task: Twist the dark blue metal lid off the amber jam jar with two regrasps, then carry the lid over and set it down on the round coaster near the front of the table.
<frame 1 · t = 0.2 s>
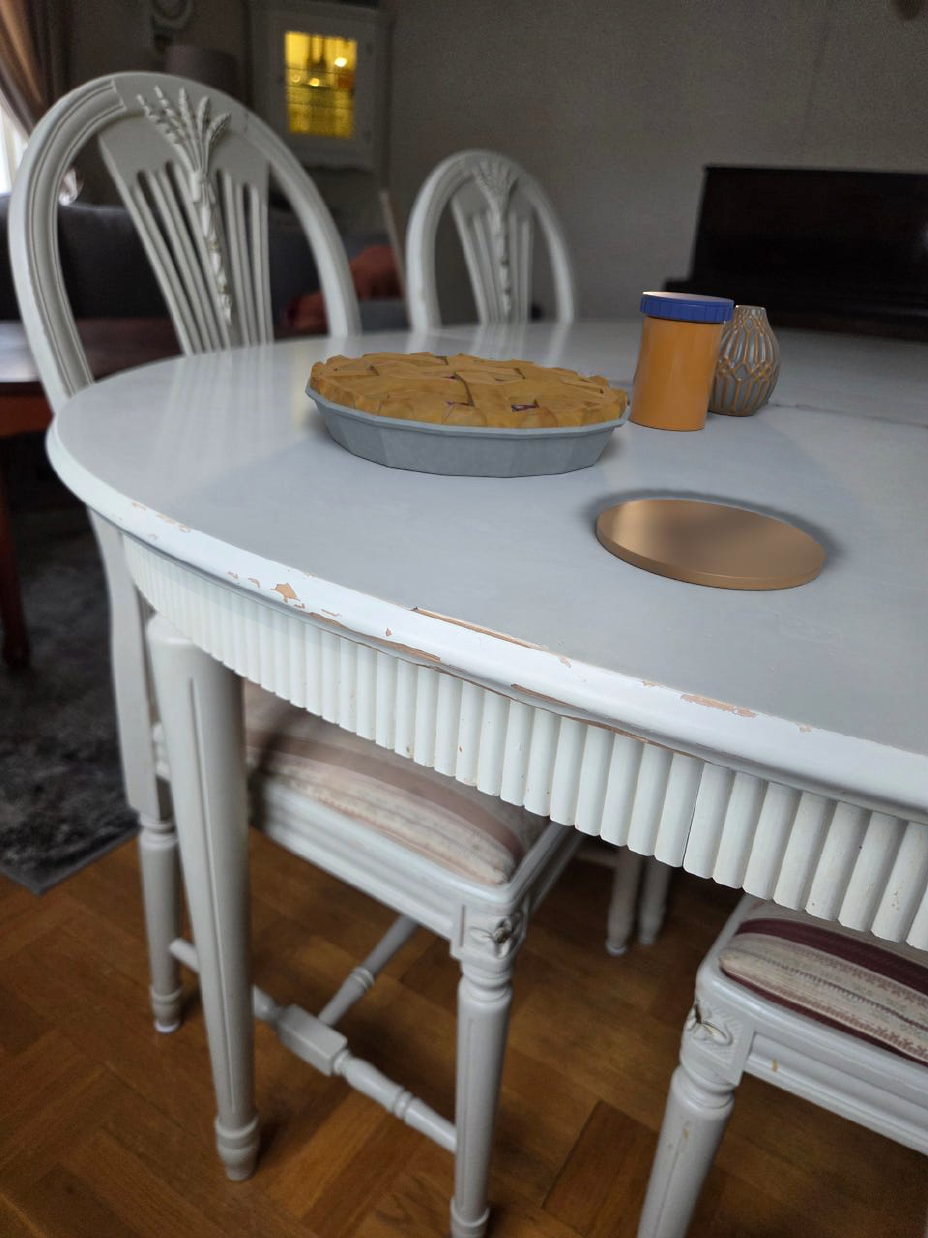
lid: (687, 300, 64), point 9 cm above the table, screwed on, not yet turned
vase: (728, 413, 74), on the table
coaster: (706, 545, 41), on the table
pie: (464, 441, 57), on the table
jar: (665, 421, 68), on the table
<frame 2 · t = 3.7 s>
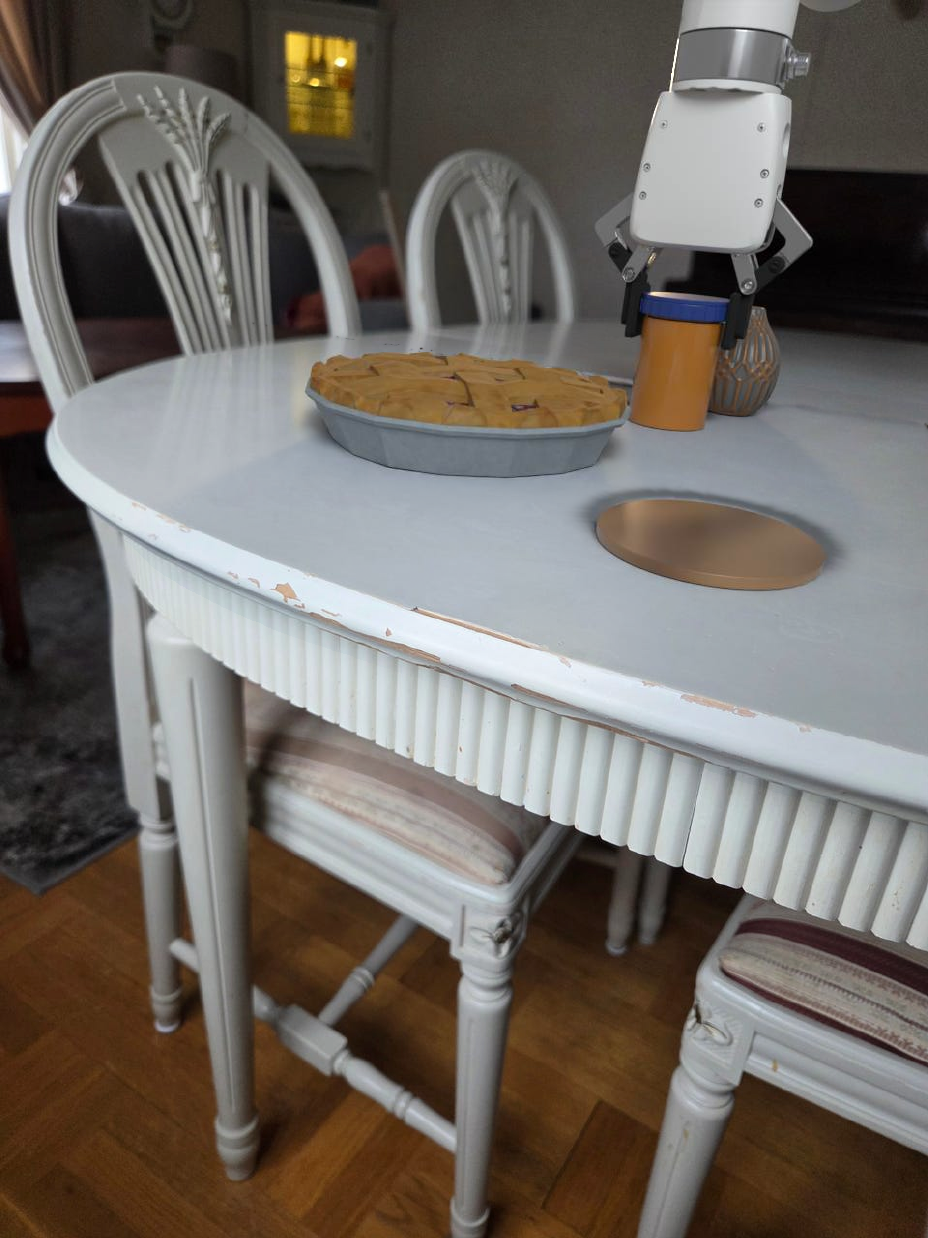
hand: (680, 340, 65), 6 cm above the table, tool pointing down, fingers closed on lid, 6 cm apart
lid: (687, 300, 64), point 9 cm above the table, screwed on, not yet turned, touching gripper
everything else where it was.
when the fingers open (6 cm above the table, at t = 6.2 s): lid stays where it is, point 10 cm above the table.
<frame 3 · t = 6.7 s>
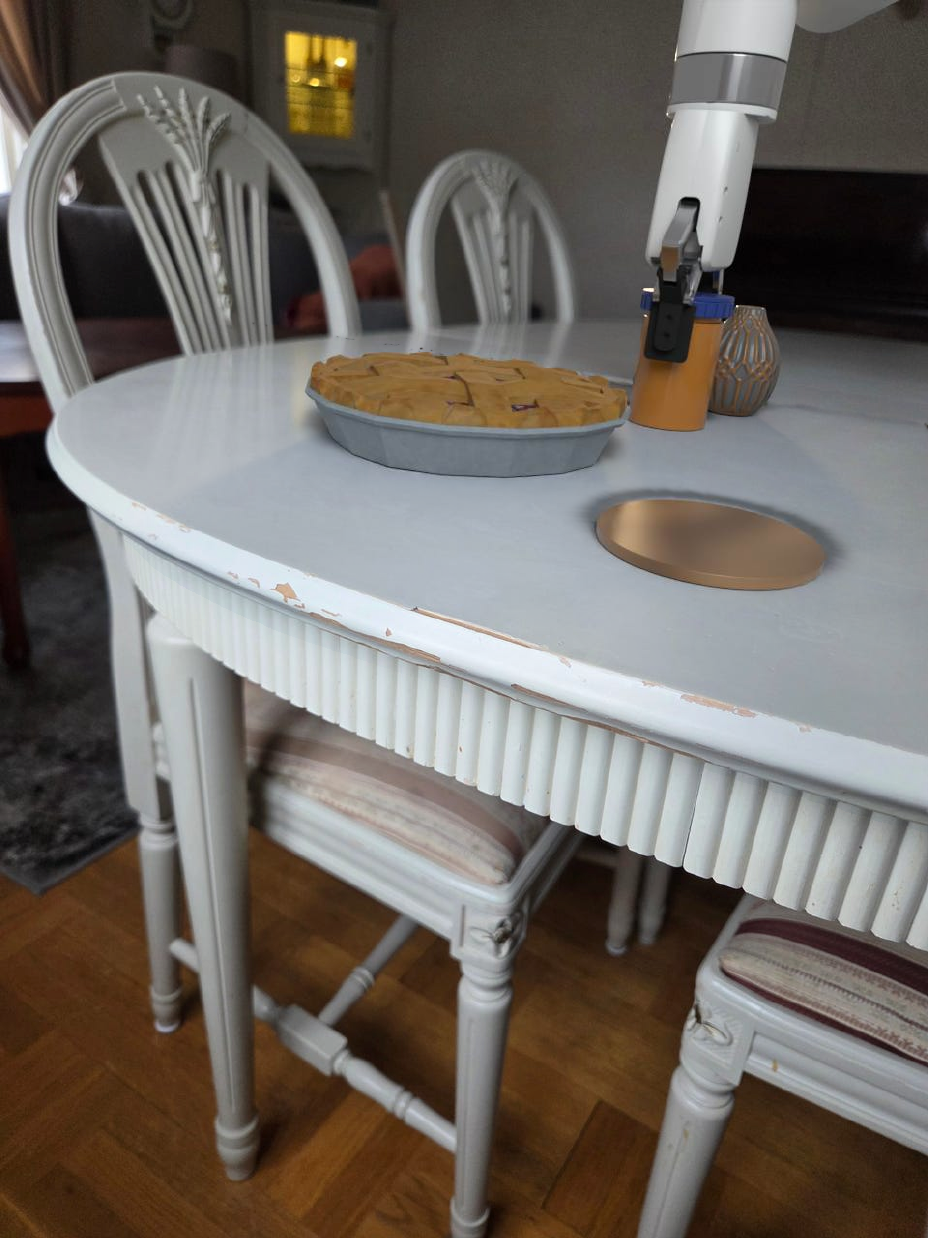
hand: (678, 353, 65), 5 cm above the table, tool pointing down, fingers open, 8 cm apart
lid: (687, 297, 63), point 10 cm above the table, turned 90° so far, risen 0.2 cm, still on its thread
everything else where it was.
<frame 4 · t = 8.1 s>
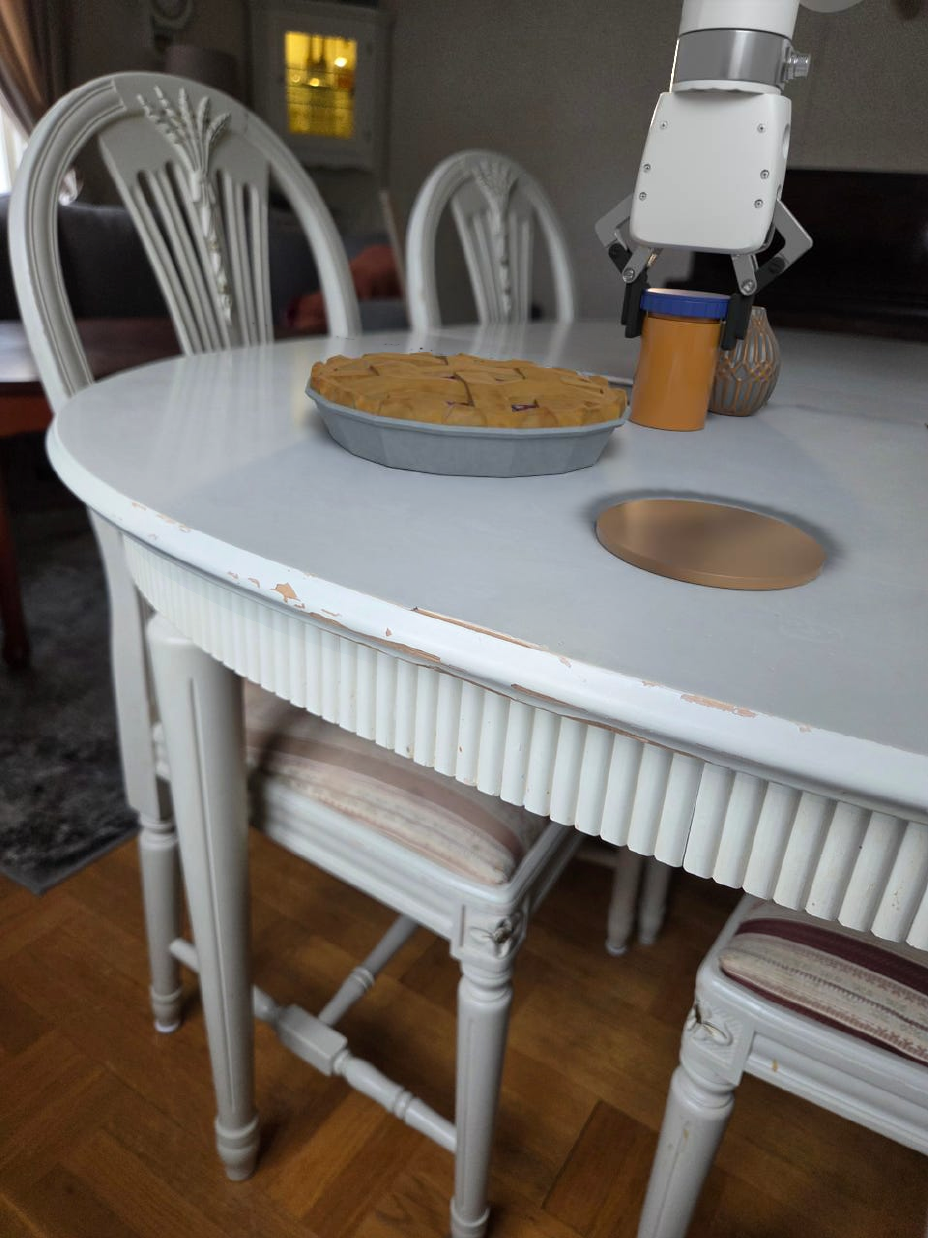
hand: (680, 340, 65), 6 cm above the table, tool pointing down, fingers closed on lid, 6 cm apart
lid: (687, 297, 63), point 10 cm above the table, turned 90° so far, risen 0.2 cm, still on its thread, touching gripper
everything else where it was.
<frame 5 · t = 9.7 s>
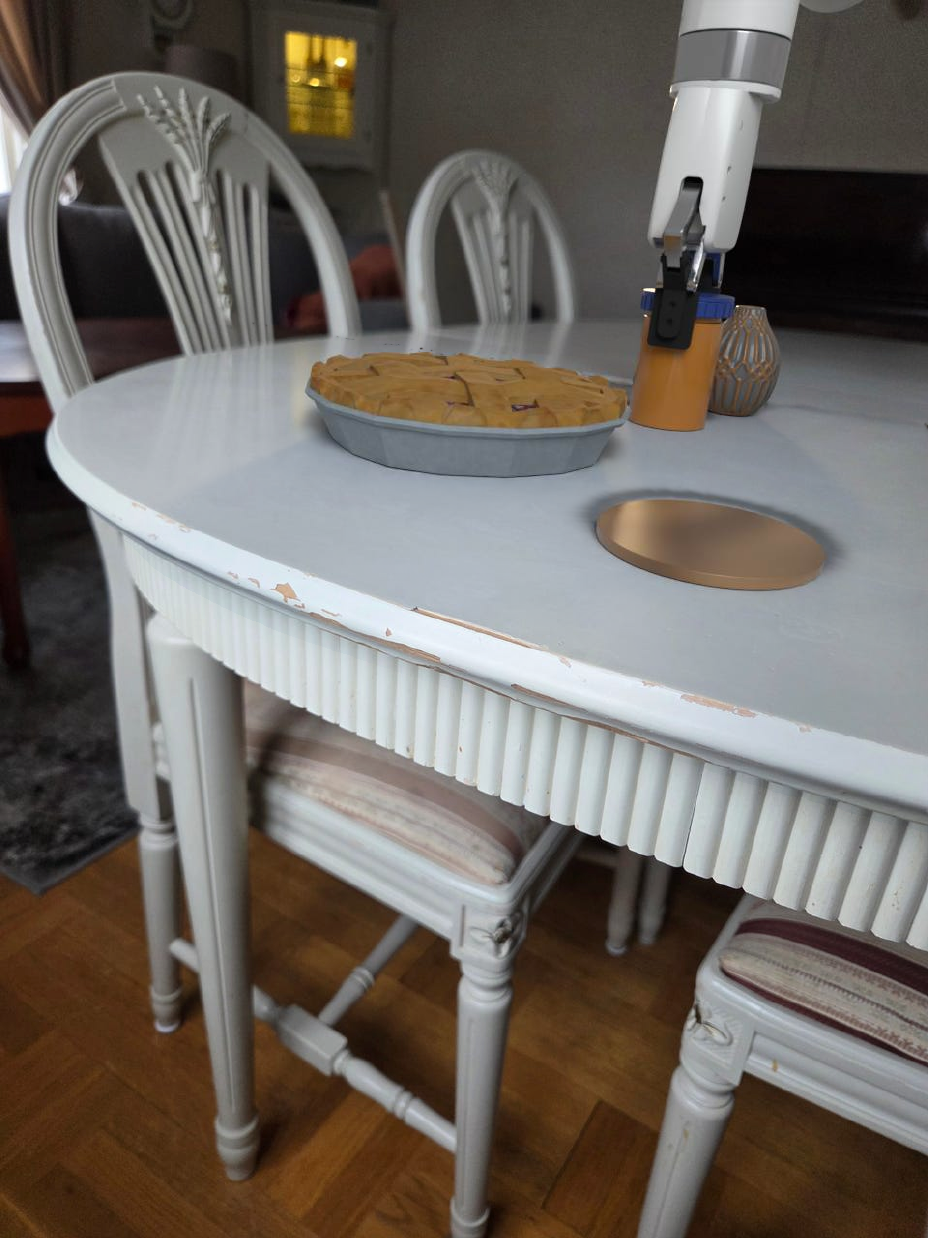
hand: (680, 340, 65), 6 cm above the table, tool pointing down, fingers closed on lid, 6 cm apart
lid: (688, 297, 63), point 10 cm above the table, off its thread, touching gripper
everything else where it was.
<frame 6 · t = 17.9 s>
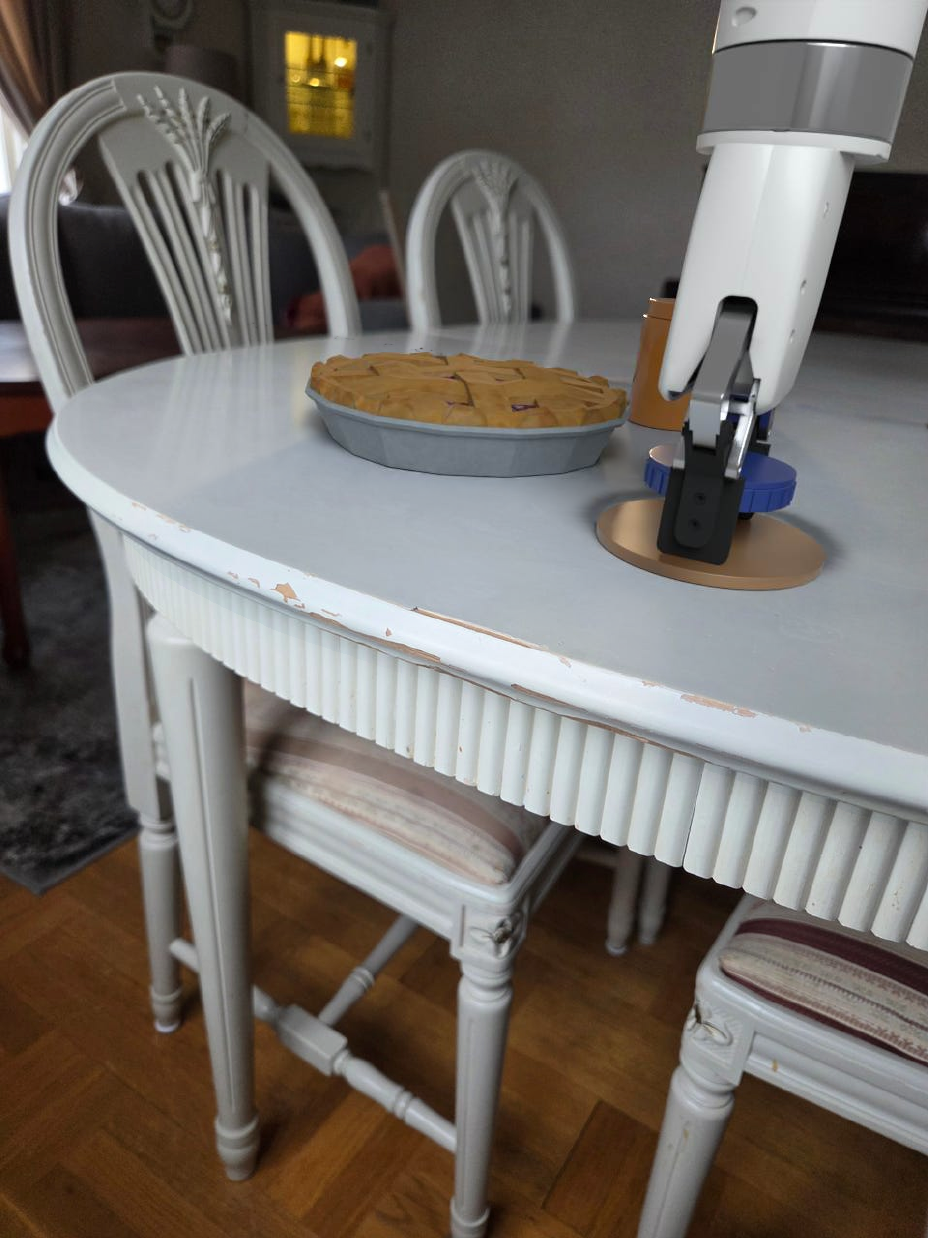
hand: (708, 531, 41), 1 cm above the table, tool pointing down, fingers closed on lid, 6 cm apart
lid: (720, 467, 40), point 4 cm above the table, off its thread, touching gripper
everything else where it was.
when the fingers open (2 cm above the table, at t = 28.5 s): lid drops 3 cm, resting on coaster.
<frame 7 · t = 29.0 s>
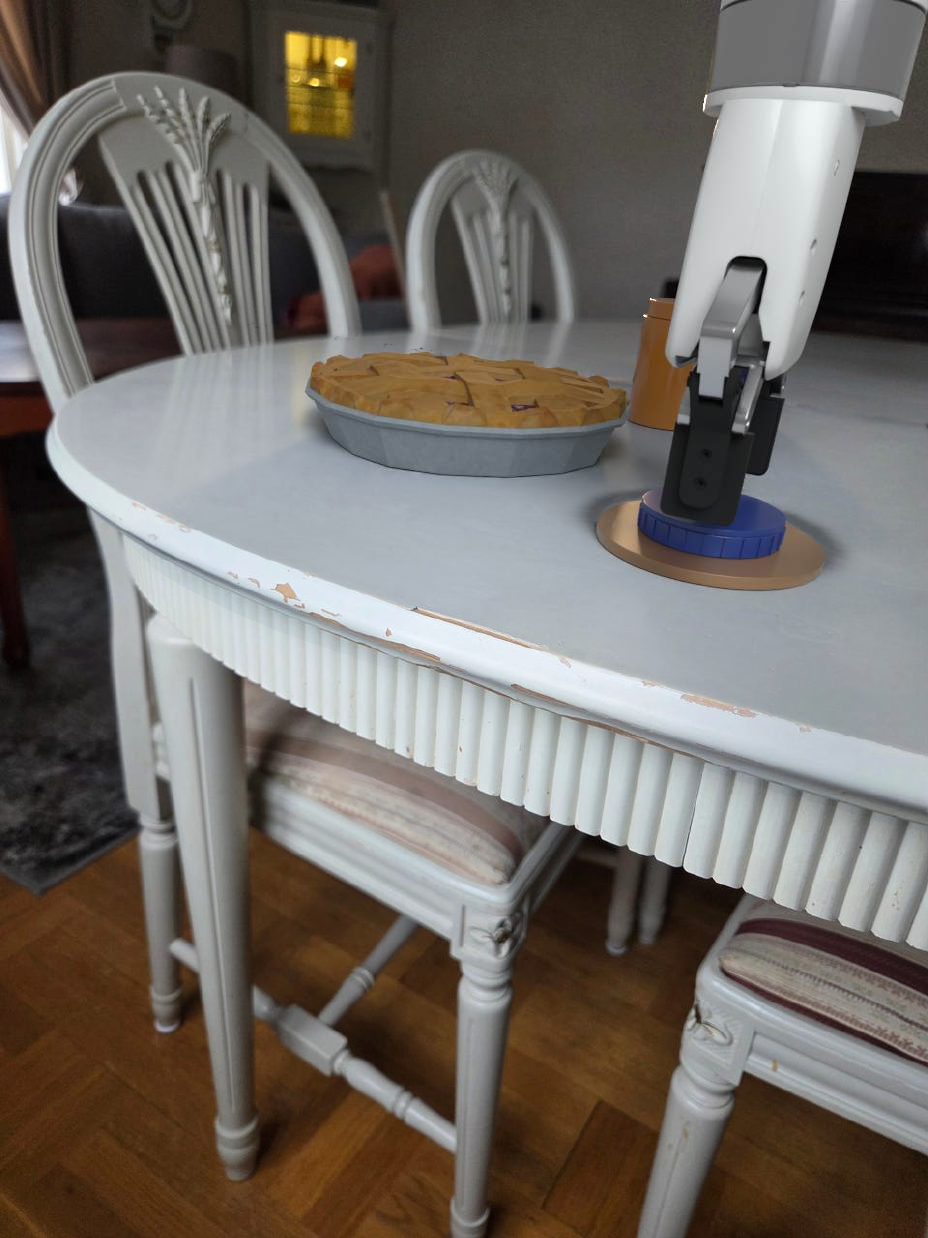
hand: (717, 491, 40), 3 cm above the table, tool pointing down, fingers open, 9 cm apart
lid: (711, 512, 41), point 2 cm above the table, off its thread, touching coaster
everything else where it was.
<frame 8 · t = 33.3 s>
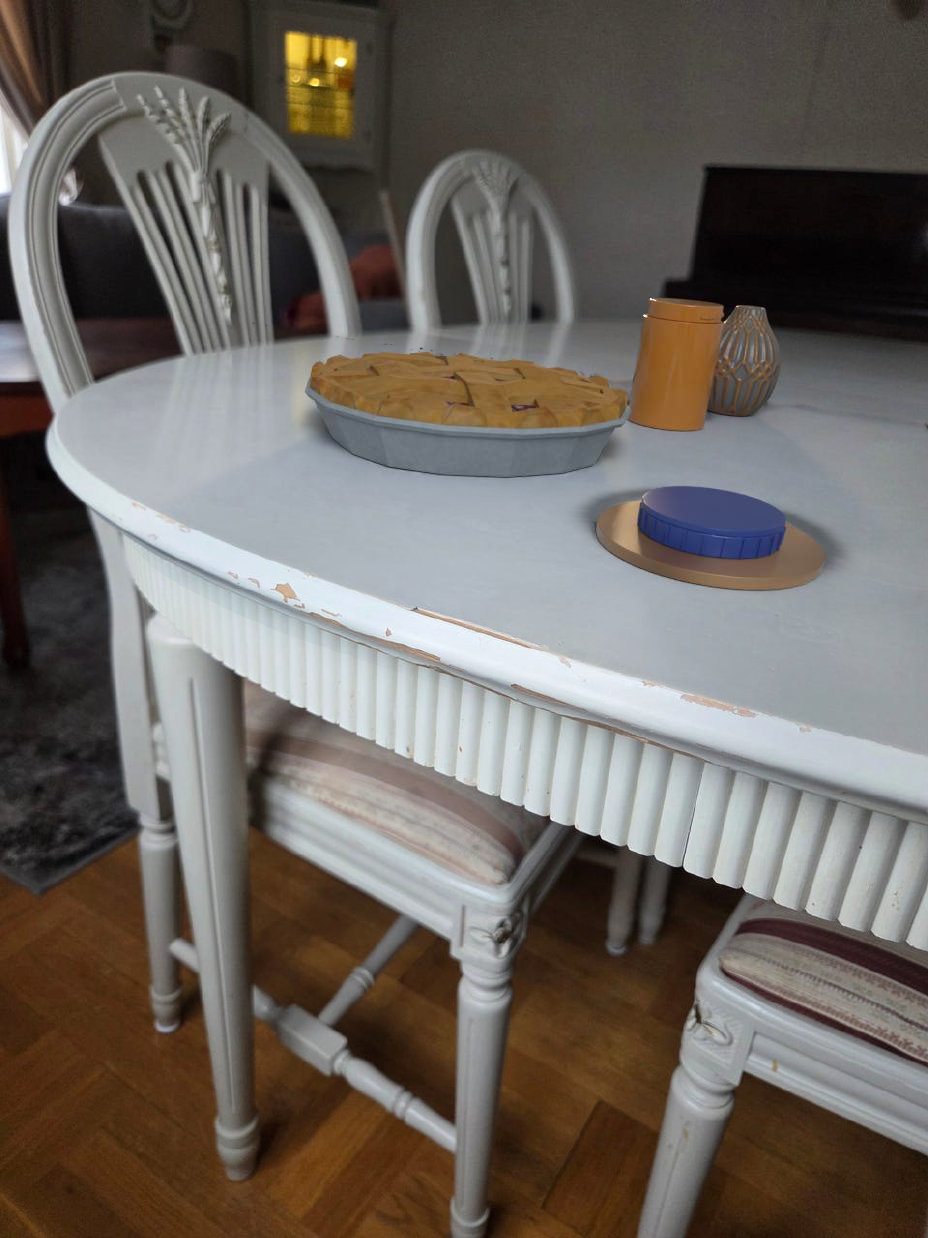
nothing on the table moved.
at the end: lid came off its thread; lid inside the target area on the coaster (0.1 cm from its centre), point 1.7 cm above the coaster's base; the gripper is holding nothing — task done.
